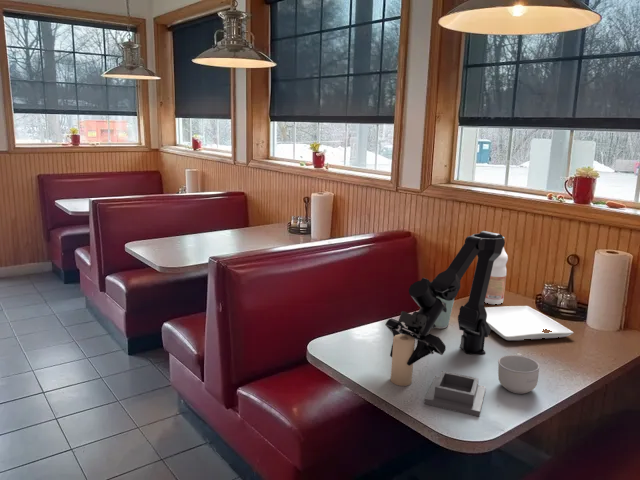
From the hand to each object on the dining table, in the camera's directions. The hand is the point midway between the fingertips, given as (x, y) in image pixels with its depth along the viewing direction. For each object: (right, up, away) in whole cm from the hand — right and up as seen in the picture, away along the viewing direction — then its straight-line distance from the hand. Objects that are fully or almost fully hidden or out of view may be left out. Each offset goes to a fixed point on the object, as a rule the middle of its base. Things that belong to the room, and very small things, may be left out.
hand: (399, 360), depth 148 cm
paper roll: (+1, -6, +2) cm, 7 cm away
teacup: (+34, -8, +1) cm, 35 cm away
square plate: (+50, +1, +45) cm, 67 cm away
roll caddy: (+14, -9, -6) cm, 18 cm away
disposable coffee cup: (+21, +2, +44) cm, 49 cm away
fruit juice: (+50, +8, +73) cm, 89 cm away
